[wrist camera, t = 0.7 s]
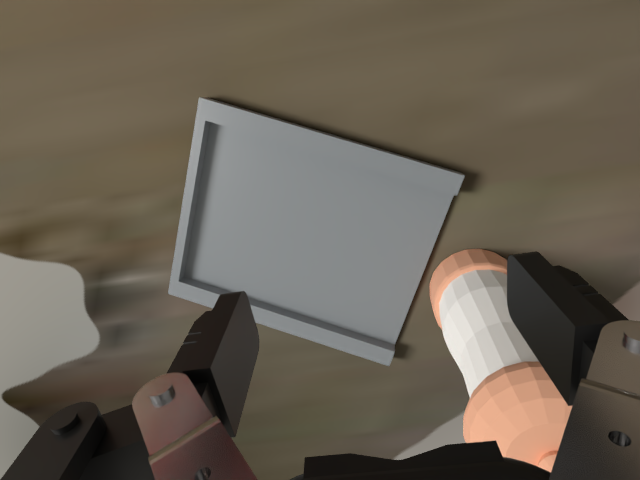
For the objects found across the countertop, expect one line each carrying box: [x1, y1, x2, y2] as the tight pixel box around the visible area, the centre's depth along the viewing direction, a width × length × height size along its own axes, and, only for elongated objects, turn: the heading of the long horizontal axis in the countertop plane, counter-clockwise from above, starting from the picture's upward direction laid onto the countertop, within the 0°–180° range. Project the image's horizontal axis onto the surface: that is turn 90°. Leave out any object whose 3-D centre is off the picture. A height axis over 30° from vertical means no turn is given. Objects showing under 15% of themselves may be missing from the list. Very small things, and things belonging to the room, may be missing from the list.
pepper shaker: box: [430, 249, 572, 472], centre depth 26 cm, size 7×7×19 cm
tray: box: [168, 97, 465, 366], centre depth 35 cm, size 18×22×2 cm
